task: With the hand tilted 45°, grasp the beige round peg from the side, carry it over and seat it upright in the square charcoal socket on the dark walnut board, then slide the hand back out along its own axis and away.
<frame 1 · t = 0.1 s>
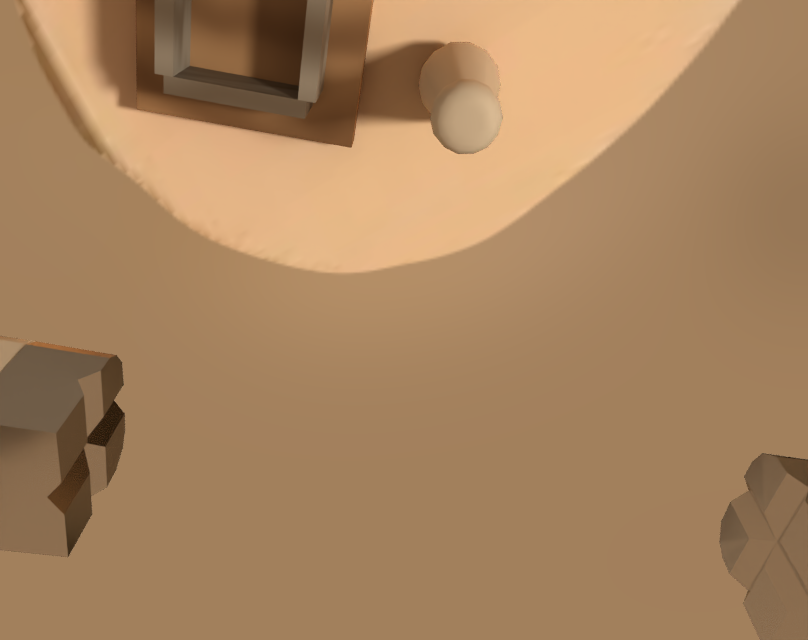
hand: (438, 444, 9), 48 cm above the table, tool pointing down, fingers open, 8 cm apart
walnut socket board: (258, 10, 51), on the table
beige round peg: (458, 77, 53), on the table
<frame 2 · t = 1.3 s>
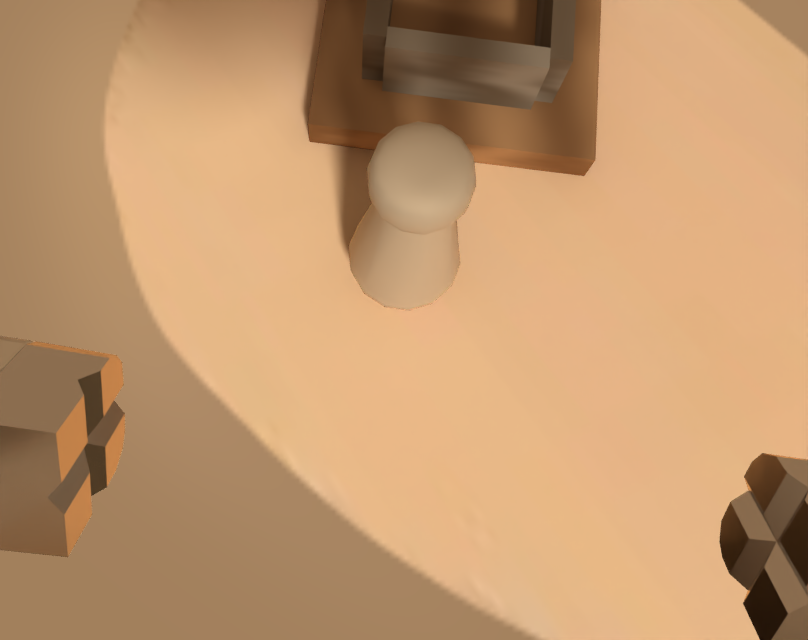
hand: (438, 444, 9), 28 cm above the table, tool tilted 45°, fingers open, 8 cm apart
walnut socket board: (459, 38, 43), on the table
beige round peg: (401, 270, 40), on the table
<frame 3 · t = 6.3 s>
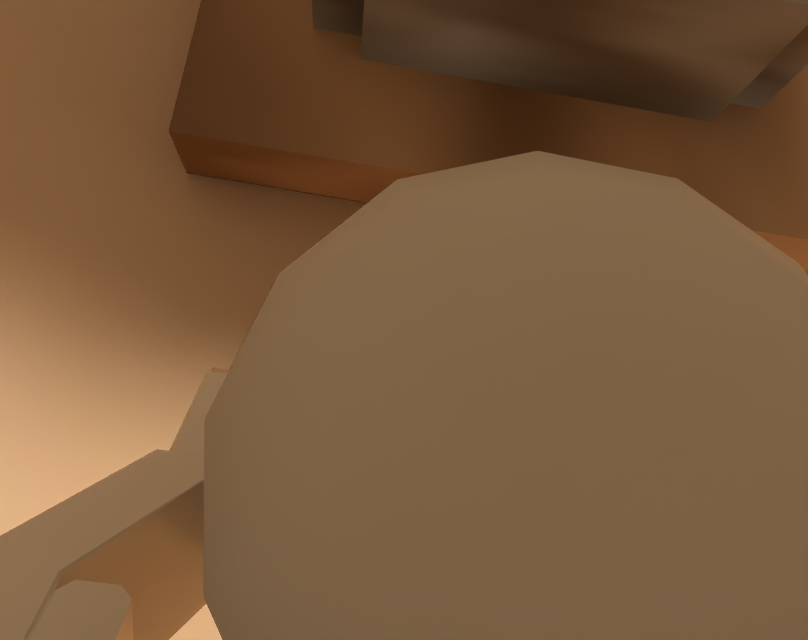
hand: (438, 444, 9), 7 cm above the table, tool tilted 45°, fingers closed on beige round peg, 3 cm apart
beige round peg: (388, 501, 16), on the table, touching gripper
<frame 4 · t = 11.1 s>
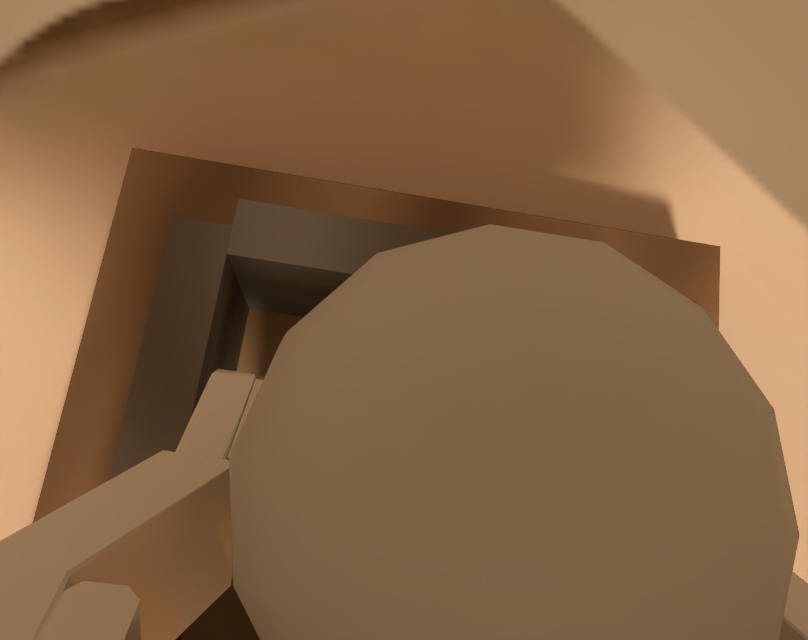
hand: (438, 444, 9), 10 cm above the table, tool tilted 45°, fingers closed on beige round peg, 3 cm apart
walnut socket board: (385, 504, 19), on the table
beige round peg: (388, 503, 17), point 2 cm above the table, touching gripper, walnut socket board
when the fingers open (10 cm above the table, at t = 11.2 s): beige round peg stays where it is, resting on walnut socket board.
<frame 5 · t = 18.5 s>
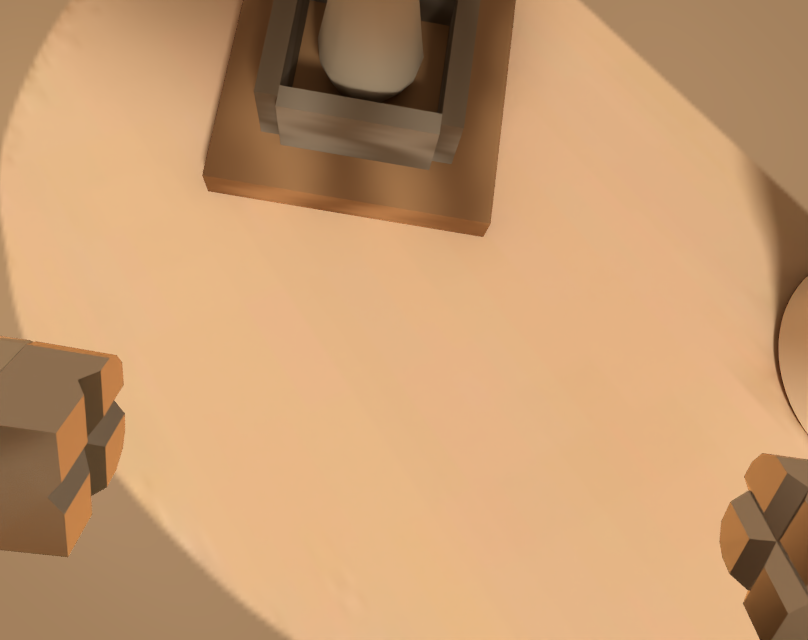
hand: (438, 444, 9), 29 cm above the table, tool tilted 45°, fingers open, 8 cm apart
walnut socket board: (367, 93, 43), on the table
beige round peg: (368, 76, 42), point 2 cm above the table, touching walnut socket board
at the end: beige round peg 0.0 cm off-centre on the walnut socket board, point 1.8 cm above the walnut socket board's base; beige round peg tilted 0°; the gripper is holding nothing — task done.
